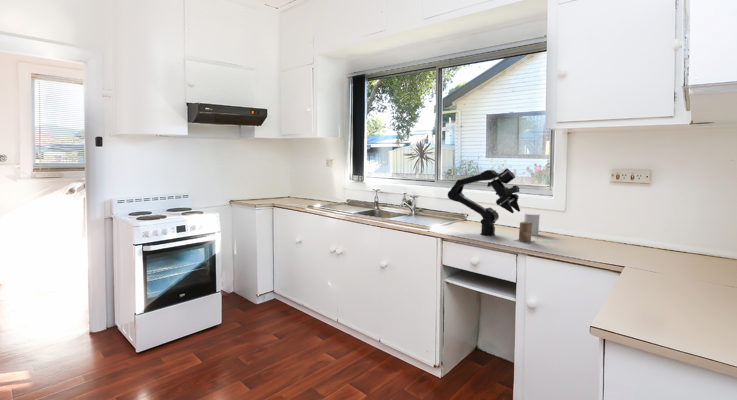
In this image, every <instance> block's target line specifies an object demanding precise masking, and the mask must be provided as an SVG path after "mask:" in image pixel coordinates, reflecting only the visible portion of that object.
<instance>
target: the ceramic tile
mask: <svg viewBox="0 0 737 400" xmlns="http://www.w3.org/2000/svg"><path fill="white" fill-rule="evenodd" d="M536 241H537V243H538V242H540V243H548V244H554V241H555V240H553V239H546V238H545V239H544V238H537V240H536Z"/></svg>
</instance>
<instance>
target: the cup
mask: <svg viewBox="0 0 737 400" xmlns="http://www.w3.org/2000/svg"><path fill="white" fill-rule="evenodd" d="M523 222H529V223H532V231H531V236H538V235H539V230H540V229H539V227H540V226H539V225H540V213H536V212H525V213H524V217H523Z"/></svg>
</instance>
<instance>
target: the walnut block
mask: <svg viewBox="0 0 737 400" xmlns="http://www.w3.org/2000/svg"><path fill="white" fill-rule="evenodd" d="M531 231H532V223H529V222H524V221H521V222H519V231H518V232H519V234H518V239H519V241H522V242H530V241H532V235H531Z"/></svg>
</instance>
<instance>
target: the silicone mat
mask: <svg viewBox="0 0 737 400" xmlns="http://www.w3.org/2000/svg"><path fill="white" fill-rule="evenodd" d="M513 242H517V243H521V244H526V245H530V244H534V243H536V242H537V243H538V241H537V240H536V241H535V240H531V241H530V242H522V241H519V238H518V239H515V240H513Z"/></svg>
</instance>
